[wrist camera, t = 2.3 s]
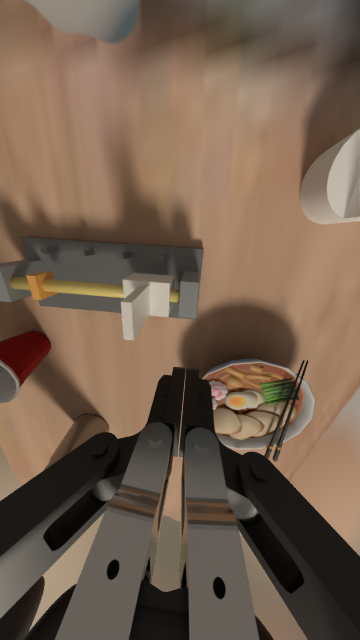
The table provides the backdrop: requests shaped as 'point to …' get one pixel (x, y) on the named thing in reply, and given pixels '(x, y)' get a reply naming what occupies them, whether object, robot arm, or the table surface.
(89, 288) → the cable comb fixture
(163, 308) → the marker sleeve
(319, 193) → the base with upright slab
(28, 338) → the plastic cup
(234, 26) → the table surface
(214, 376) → the ramen bowl
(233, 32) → the table surface
